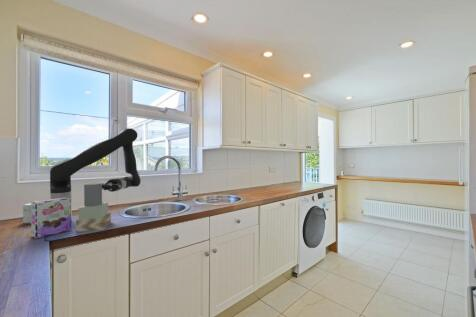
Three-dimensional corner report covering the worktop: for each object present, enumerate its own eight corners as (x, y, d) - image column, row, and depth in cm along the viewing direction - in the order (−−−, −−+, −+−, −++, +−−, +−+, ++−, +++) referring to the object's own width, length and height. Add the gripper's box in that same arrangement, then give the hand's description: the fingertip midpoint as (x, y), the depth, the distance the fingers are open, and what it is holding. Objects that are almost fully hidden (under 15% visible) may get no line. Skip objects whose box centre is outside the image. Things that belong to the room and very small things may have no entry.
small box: (45, 220, 128) (45, 202, 128) (35, 223, 123) (35, 204, 123) (33, 220, 129) (32, 202, 129) (22, 223, 124) (22, 204, 124)
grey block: (84, 206, 113) (84, 184, 113) (92, 203, 118) (92, 183, 118) (94, 206, 112) (94, 184, 112) (102, 203, 118) (101, 183, 118)
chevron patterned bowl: (76, 232, 108) (76, 220, 108) (86, 225, 120) (86, 214, 120) (103, 230, 111) (103, 218, 111) (110, 223, 123) (110, 212, 123)
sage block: (78, 219, 109) (78, 207, 109) (87, 214, 119) (87, 203, 119) (101, 218, 112) (101, 206, 112) (107, 213, 121) (107, 202, 121)
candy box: (35, 239, 99) (34, 202, 99) (30, 236, 102) (30, 201, 102) (71, 230, 111) (70, 197, 110) (66, 228, 114) (65, 196, 114)
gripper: (105, 178, 135) (84, 181, 119) (127, 178, 134) (109, 181, 117) (105, 190, 135) (84, 195, 119) (127, 190, 134) (109, 195, 117)
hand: (97, 188), depth 118 cm, fingers open, 8 cm apart
